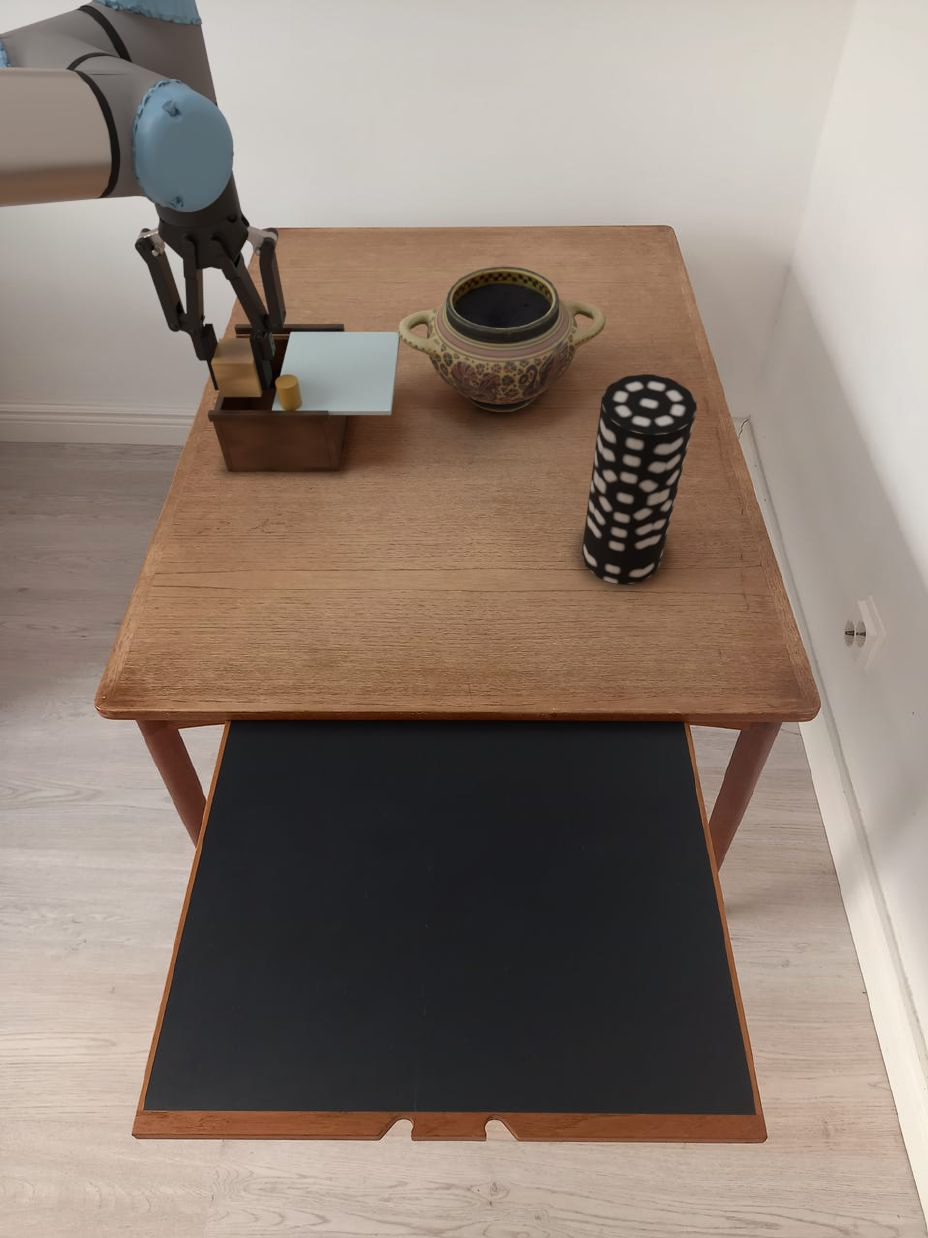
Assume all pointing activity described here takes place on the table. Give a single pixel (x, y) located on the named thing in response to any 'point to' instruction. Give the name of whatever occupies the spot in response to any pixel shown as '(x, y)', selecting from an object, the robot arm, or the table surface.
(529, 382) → the ceramic bowl
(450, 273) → the table surface
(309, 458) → the wooden box
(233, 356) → the block
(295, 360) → the pale blue square panel
